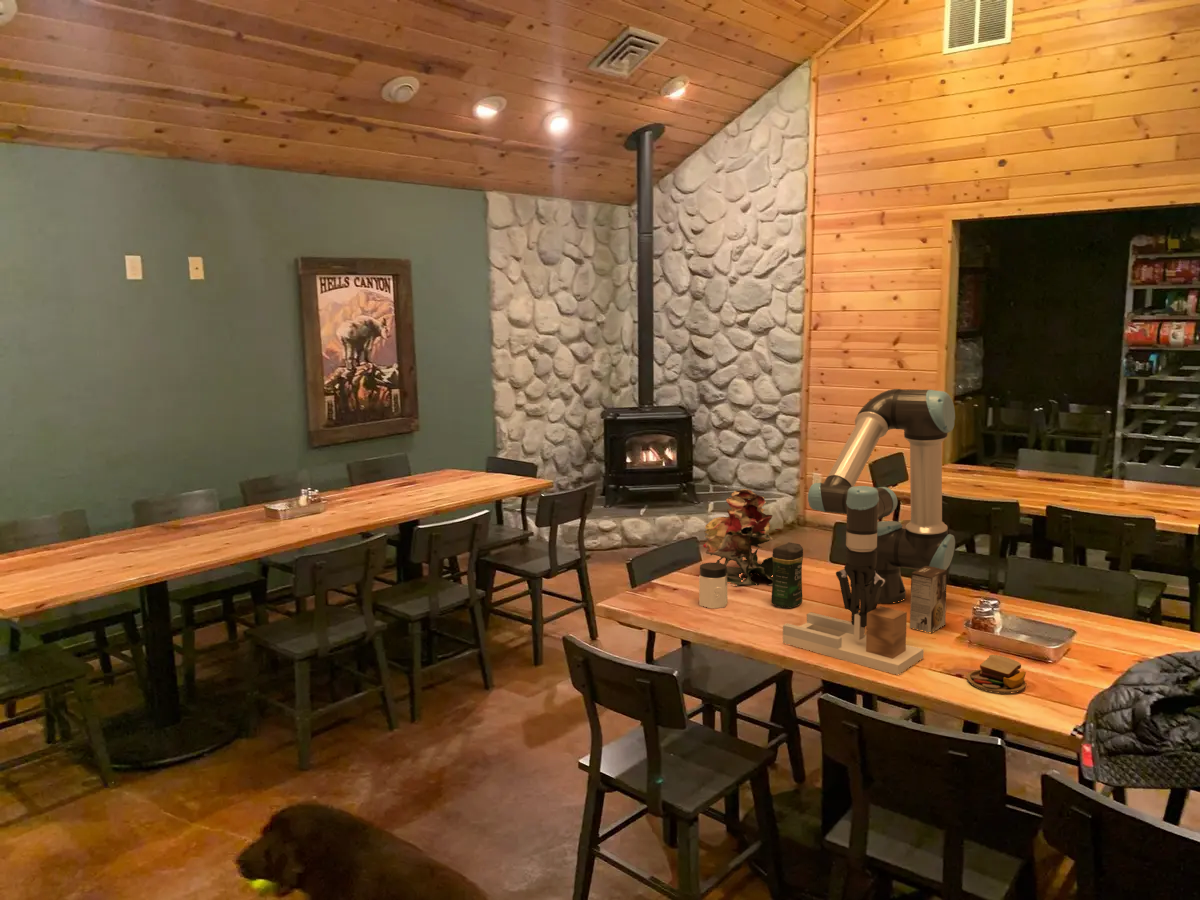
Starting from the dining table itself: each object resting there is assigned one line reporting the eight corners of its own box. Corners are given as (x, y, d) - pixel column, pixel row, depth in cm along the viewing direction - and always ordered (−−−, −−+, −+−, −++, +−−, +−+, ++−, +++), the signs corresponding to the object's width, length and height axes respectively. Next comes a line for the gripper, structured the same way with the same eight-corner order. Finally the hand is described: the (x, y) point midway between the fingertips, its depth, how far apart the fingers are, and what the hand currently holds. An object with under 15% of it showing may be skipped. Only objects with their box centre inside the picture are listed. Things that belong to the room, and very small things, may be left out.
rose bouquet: (767, 563, 306) (768, 480, 302) (792, 587, 277) (793, 496, 273) (696, 566, 304) (695, 482, 300) (713, 591, 276) (712, 498, 271)
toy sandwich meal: (955, 682, 203) (956, 663, 202) (988, 668, 210) (989, 650, 210) (1005, 700, 193) (1006, 680, 192) (1039, 685, 200) (1040, 666, 199)
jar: (703, 610, 257) (703, 570, 256) (694, 601, 265) (694, 563, 264) (732, 607, 259) (732, 568, 258) (722, 599, 267) (722, 561, 266)
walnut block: (905, 650, 216) (906, 612, 214) (892, 658, 211) (893, 619, 209) (879, 643, 221) (880, 606, 219) (866, 651, 216) (866, 613, 214)
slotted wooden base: (923, 658, 217) (923, 639, 216) (898, 675, 207) (898, 655, 206) (810, 629, 239) (810, 612, 238) (782, 643, 229) (782, 625, 228)
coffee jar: (791, 610, 255) (791, 549, 252) (767, 605, 260) (767, 545, 257) (806, 602, 262) (807, 543, 260) (783, 597, 267) (784, 539, 265)
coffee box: (923, 620, 244) (925, 565, 242) (946, 625, 240) (948, 569, 238) (908, 628, 238) (910, 572, 236) (931, 634, 234) (933, 576, 231)
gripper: (892, 549, 216) (890, 640, 219) (845, 541, 225) (843, 628, 228) (878, 555, 210) (876, 648, 214) (830, 546, 219) (828, 636, 223)
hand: (859, 638), depth 221 cm, fingers closed
